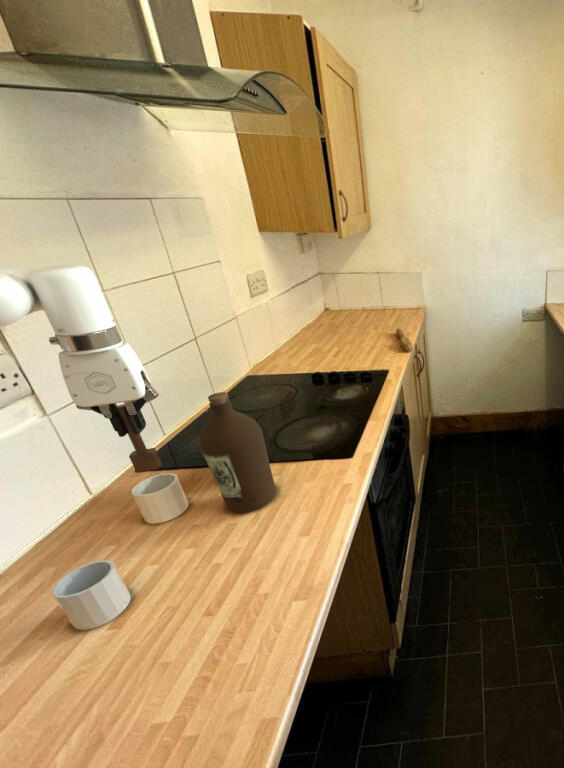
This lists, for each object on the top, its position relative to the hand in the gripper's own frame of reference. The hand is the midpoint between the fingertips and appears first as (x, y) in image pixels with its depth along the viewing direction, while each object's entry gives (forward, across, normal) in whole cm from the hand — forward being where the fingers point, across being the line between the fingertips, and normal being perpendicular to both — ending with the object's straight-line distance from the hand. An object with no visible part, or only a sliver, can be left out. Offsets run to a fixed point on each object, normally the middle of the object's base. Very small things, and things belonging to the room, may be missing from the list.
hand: (132, 431), depth 79 cm
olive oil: (+20, +16, -2) cm, 25 cm away
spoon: (+9, 0, 0) cm, 9 cm away
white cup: (+19, 0, 0) cm, 19 cm away
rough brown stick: (+20, +60, +97) cm, 116 cm away
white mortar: (+19, -1, -24) cm, 31 cm away
